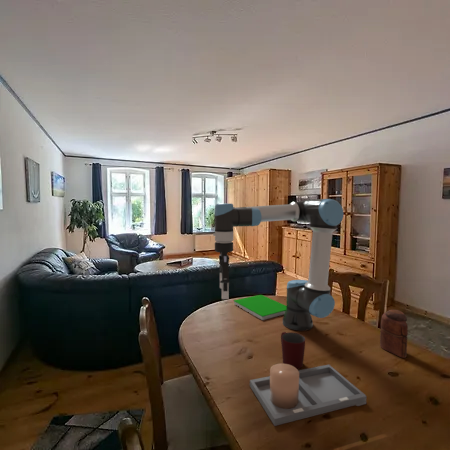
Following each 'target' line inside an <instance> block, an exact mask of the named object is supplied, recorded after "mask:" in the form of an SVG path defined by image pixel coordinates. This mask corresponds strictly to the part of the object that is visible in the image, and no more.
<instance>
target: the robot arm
mask: <svg viewBox="0 0 450 450" xmlns="http://www.w3.org/2000/svg"><path fill="white" fill-rule="evenodd" d="M213 217H214V233H212V236H213V237H214V241H215V242H214V251H215V252H216V253H219V255H218V261H219V263H218V264H219V268H218V269H219V289H221V300H229V299H230V298H229V295H230V294H229V293H230V292H229V291H230V288H229V287H230V275H229V273H230V272H229V271H230V267H229V266H230V256H229V254H228V253H233V251H234V242H233V241H234V227H256V226H259V225H260V224H261V223H263V222H264V223H267V222H275V221H276V222H278V221H279V222H280V221H292V222H302V223H309V229H310V230H312V235H311V236H312V238H311V246H310V247H311V248H310V256H309V257H310V259H309V268H308V269H309V270H308V280H306V279H292V280H289V281H287V284H286V311H285V314H284V315H283V317H282V325H283V326H284V327H285V328H287V329H290V330H293V331H299V332H300V331H301V332H302V331H303V332H304V331H309V330H312V329H313V327H314V323H313V317H315V318H318V319H319V318H320V319H322V318H323V319H324V318H326V317H328V316H329V315H330V314H332V312H333V311H334V308H335V305H336V301H335V299H334V297H333V296H332V294H331V288H332V287H330V285H328V283H329V274H330V271H329V270H330V262H331V250H332V242H333V241H332V240H333V233H334V232H335V231H337V227H338V225H339V224H341V222H342V221H343V219H344V209H343V206H342V204H341V203H340V202H339V201H337V200H335V199H330V198H320V199H319V198H318V199H317V198H316V199H314V198H312V199H305V200H299V201H292V202H290V203H289V204H273V205H272V204H271V205H255V206H254V205H253V206H239V207H235V206H234V204H233V203H221V202H220V203H216V204H215V206H214V215H213ZM312 316H313V317H312Z"/></svg>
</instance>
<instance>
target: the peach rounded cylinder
mask: <svg viewBox="0 0 450 450" xmlns="http://www.w3.org/2000/svg"><path fill="white" fill-rule="evenodd" d="M269 376H270V401H271V402H272V403H273V404H274V405H275V406H277V407H279V408H283V409H291V408H294V407H296V406H297V404H298V398H299V369H296V368H295V367H293V366H291V365H289V364H283V362H282V363H281V362H280V363H276V364H273V365H272V366H271V367H270V368H269Z"/></svg>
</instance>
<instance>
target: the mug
mask: <svg viewBox="0 0 450 450" xmlns="http://www.w3.org/2000/svg"><path fill="white" fill-rule="evenodd" d="M280 343H281V353H282V355H281V356H282V363H283V364H289V365H291V366H293V367H295V368H296V369H297V370H301V368H302V367H303V366H304V356H305V350H306V349H305V348H306V338H305V336H304V335H303V334H300V333H297V332H293V331H292V332H289V331H288V332H286V331H282V332H281V334H280Z"/></svg>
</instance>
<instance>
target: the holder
mask: <svg viewBox="0 0 450 450" xmlns="http://www.w3.org/2000/svg"><path fill="white" fill-rule="evenodd" d="M298 371H299V398H298V404H297V406H296V407H294V408H291V409H283V408H279V407H277V406H275V405H274V404H273V403H272V402H271V401H270V375H269V376H264V377H260V378H254V379H249V388H251V389H250V390H252V392H253V393H254V396H255V397H256V399H257V400H258V402H259V404H260V405H261V407H262V409H263V410H264V411H265V413H266V414H267V416H268V418H269V420H270V421H271V423H272V424H273V426H274V427H276V426H279V425H284V424H287V423H291V422H295V421H298V420H299V421H300V420H302V419H303V420H304V419H306V418H307V419H308V418H310V417H314V416H315V417H316V416H318V415H323V414H327V413H330V412H333V411H337V410H341V409H346V408H349V407H353V406H357V407H360V406H363V405H366V404H367V395H366V394H365V393H364V392H363V391H362V390H361V389H359V388H358V387H356V385H354V384H353V383H352V382H350V380H348V379H347V378H346V377H345V376H343V375H342V374H341V373H340V372H339V371H338V370H336V369H335V368H334V367H333V366H331V364H326V365H325V364H324V365H319V366H314V367H310V368H304V369H298Z"/></svg>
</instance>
